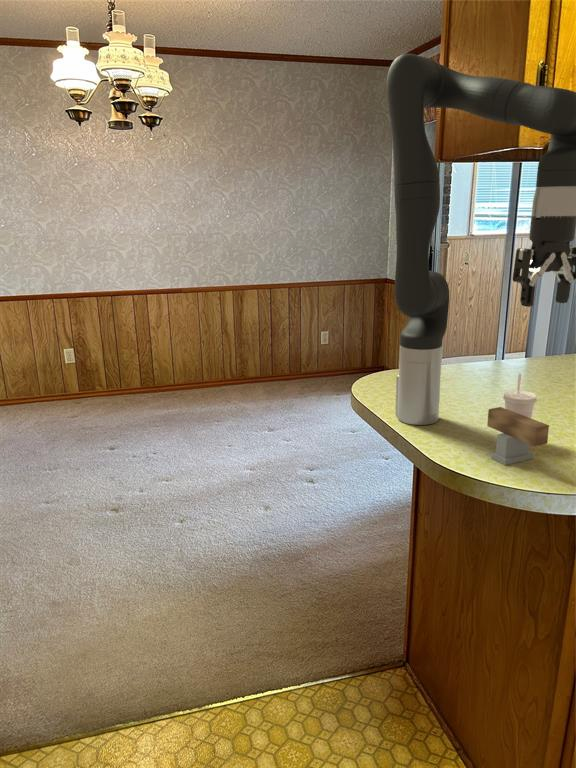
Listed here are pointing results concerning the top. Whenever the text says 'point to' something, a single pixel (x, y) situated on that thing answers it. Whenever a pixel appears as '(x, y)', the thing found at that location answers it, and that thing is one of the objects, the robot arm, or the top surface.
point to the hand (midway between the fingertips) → (544, 304)
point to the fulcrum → (511, 450)
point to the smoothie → (520, 400)
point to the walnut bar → (518, 426)
